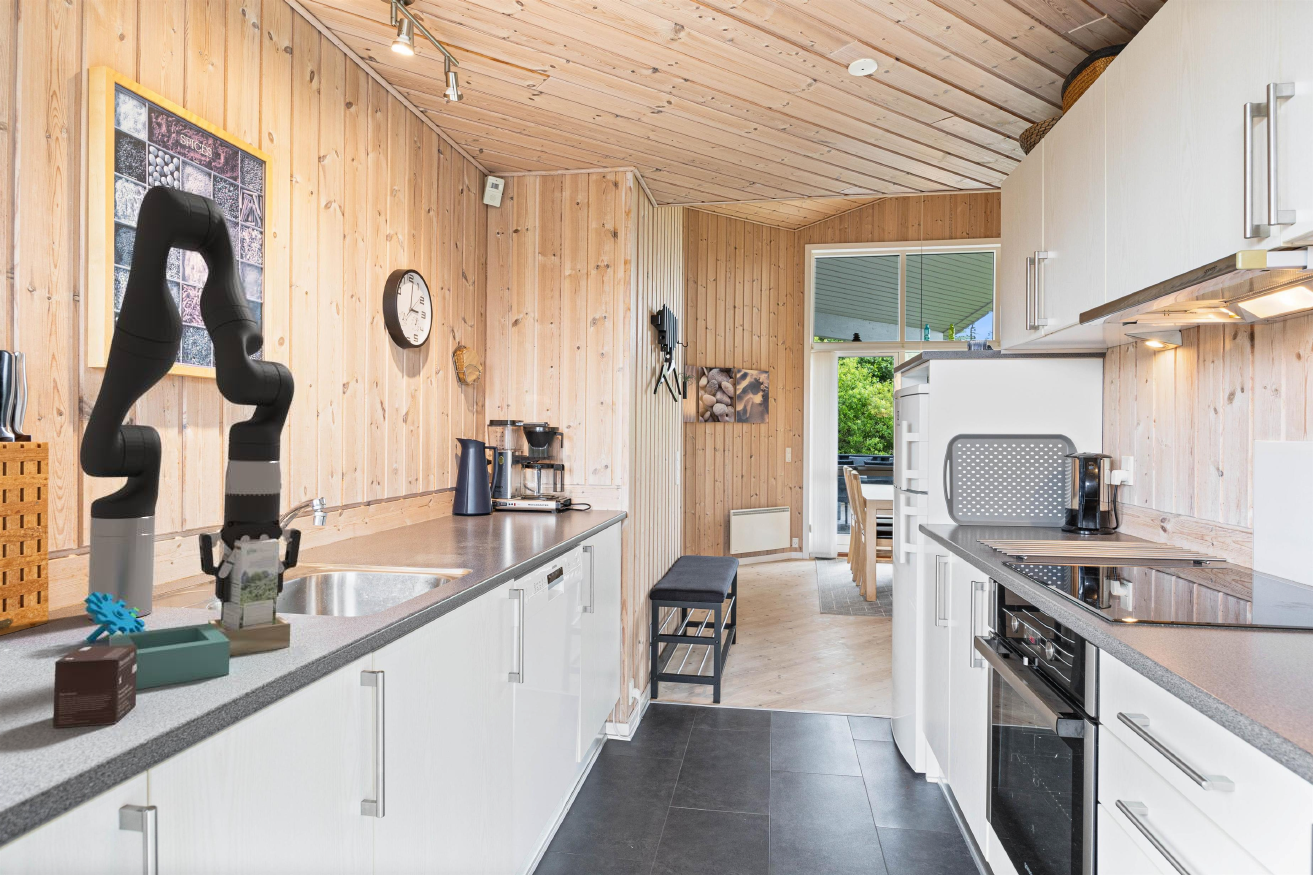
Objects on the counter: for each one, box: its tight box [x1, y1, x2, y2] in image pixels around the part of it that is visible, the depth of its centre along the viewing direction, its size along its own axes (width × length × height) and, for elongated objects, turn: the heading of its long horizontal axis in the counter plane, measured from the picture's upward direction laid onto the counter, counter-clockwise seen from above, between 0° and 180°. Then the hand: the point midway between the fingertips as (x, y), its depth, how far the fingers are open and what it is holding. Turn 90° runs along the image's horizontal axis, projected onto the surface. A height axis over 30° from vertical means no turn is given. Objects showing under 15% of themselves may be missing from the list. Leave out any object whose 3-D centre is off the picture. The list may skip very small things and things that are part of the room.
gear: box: [83, 592, 147, 644], centre depth 115 cm, size 11×6×10 cm
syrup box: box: [220, 539, 281, 631], centre depth 115 cm, size 6×6×14 cm
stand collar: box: [207, 613, 291, 657], centre depth 115 cm, size 9×9×4 cm
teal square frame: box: [108, 622, 231, 691], centre depth 101 cm, size 12×12×4 cm
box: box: [52, 645, 137, 729], centre depth 85 cm, size 6×6×7 cm
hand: (249, 598), depth 115 cm, fingers closed on syrup box, 6 cm apart
